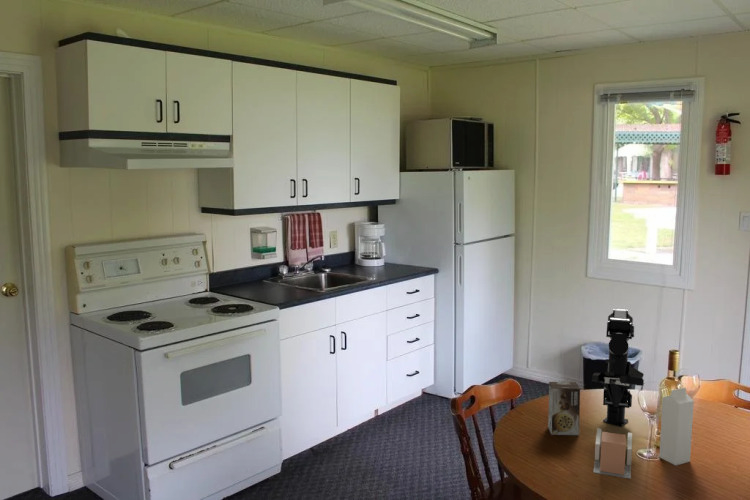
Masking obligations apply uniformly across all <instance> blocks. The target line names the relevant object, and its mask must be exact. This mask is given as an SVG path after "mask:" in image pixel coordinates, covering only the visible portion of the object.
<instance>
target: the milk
mask: <svg viewBox="0 0 750 500" xmlns="http://www.w3.org/2000/svg"><path fill="white" fill-rule="evenodd" d="M686 391H687V388H686V387H682V388H676V389H672V390H671V391H670V395H667V396H663V397H662V403H661V405H662V406H661V420H660V421H661V422H660V439H659V456H658V457H659V458H661V459H662V460H664V461H666V462H668V463H670V464H672V465H673V466H679V465H683V464H686V463H690V462H691V453H692V452H691V451H692V433H693V430H692V429H693V420H694V418H693V416H694V402H695V401H694V399H692V397H691V396H690V395H689V394H688V393H687V392H686Z"/></svg>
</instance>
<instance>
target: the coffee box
mask: <svg viewBox="0 0 750 500" xmlns="http://www.w3.org/2000/svg"><path fill="white" fill-rule="evenodd" d="M580 405H581V388H580V386H579V384H578V383H577V381H549V382H548V419H547V421H548V424H547V427H548V430H549V432H550V435H552V436H555V435H558V436H561V435H562V436H580V409H581V407H580Z"/></svg>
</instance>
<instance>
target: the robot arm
mask: <svg viewBox="0 0 750 500" xmlns="http://www.w3.org/2000/svg"><path fill="white" fill-rule="evenodd" d="M633 322H634V319H633V316H631V315H630V314H629V310H628V309H626V308H613V309H612V313H611V314H609V315H608V316H607V322H606V336H605V337H606V338H610V341H609V342H608V358H605V363H607V364H608V365H607V371H604V373H602V372H594V373H593V374H592V378H591V381H592V382H598V383H602V385H603V386H604V387H603V398H602V399H603V401H602V402H603V403H602V405H603V406H606V408H607V409H606V417H605V418H604V419H602V422H603V423H606V424H610V425H613V426H617V427H623V426H624V425H626V423H628V422H629V419H627V418H625V417H626V415H625V414H626V409H630V407H631V408H632V405H633V394H632V393H631V390H629V389H630V388H631V387H632V386H631V385H634V386H639V387H644V385H645V384H644V381H645V380H644V373H643V372H642V371H640V370H638V369H636V368H634V367H632V362H631V361H629V360H628V359H629V343H628V342H629V340H633V338H634V337H635V325H634V324H633Z"/></svg>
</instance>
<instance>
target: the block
mask: <svg viewBox="0 0 750 500" xmlns="http://www.w3.org/2000/svg"><path fill="white" fill-rule="evenodd" d="M626 443H627V435H626V434H623V433H622V434H621V433H614V432H607V431H601V456H600V459H599V461H600V471H604V472H610V473H616V474H622V475H624V470H625V465H626V447H627V444H626Z"/></svg>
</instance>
